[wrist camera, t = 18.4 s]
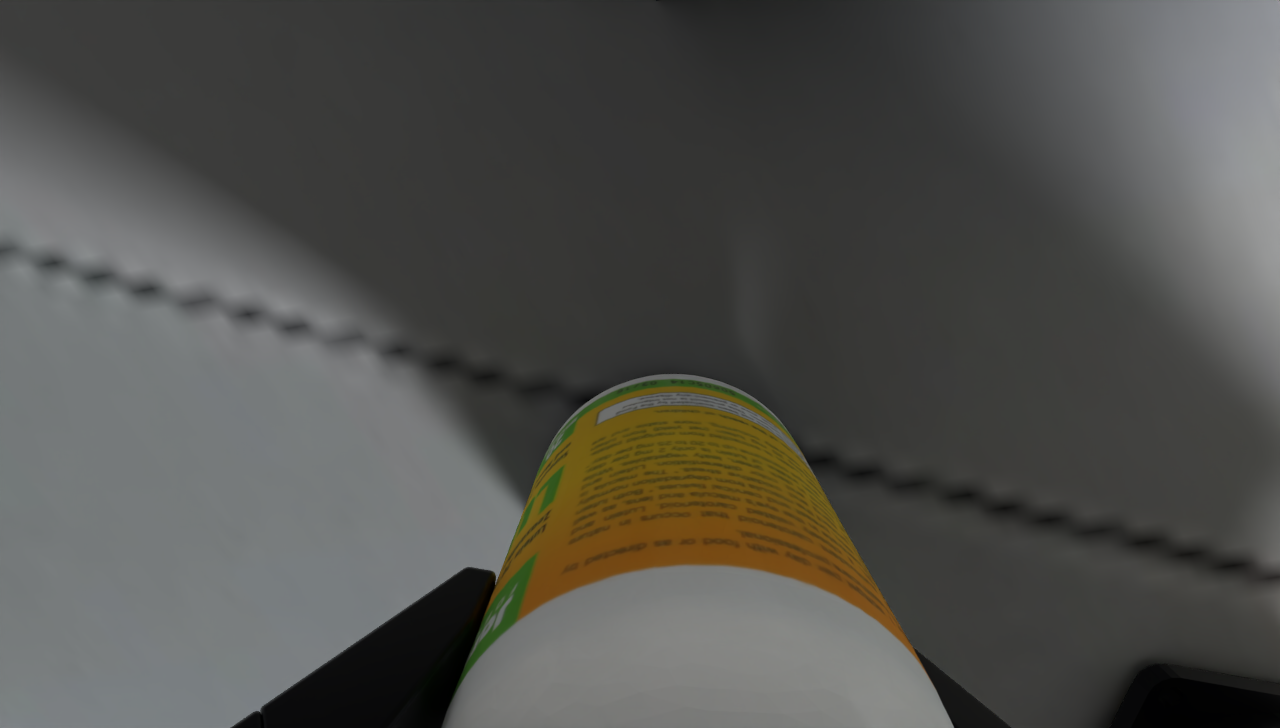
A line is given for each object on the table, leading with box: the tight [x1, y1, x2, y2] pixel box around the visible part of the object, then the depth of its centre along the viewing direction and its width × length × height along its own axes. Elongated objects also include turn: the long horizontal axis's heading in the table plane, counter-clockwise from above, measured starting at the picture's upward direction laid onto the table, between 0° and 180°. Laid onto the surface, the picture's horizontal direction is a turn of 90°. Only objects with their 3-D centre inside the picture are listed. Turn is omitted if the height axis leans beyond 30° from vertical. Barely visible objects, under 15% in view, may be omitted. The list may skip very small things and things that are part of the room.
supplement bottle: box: [441, 374, 954, 728], centre depth 8 cm, size 5×5×10 cm
